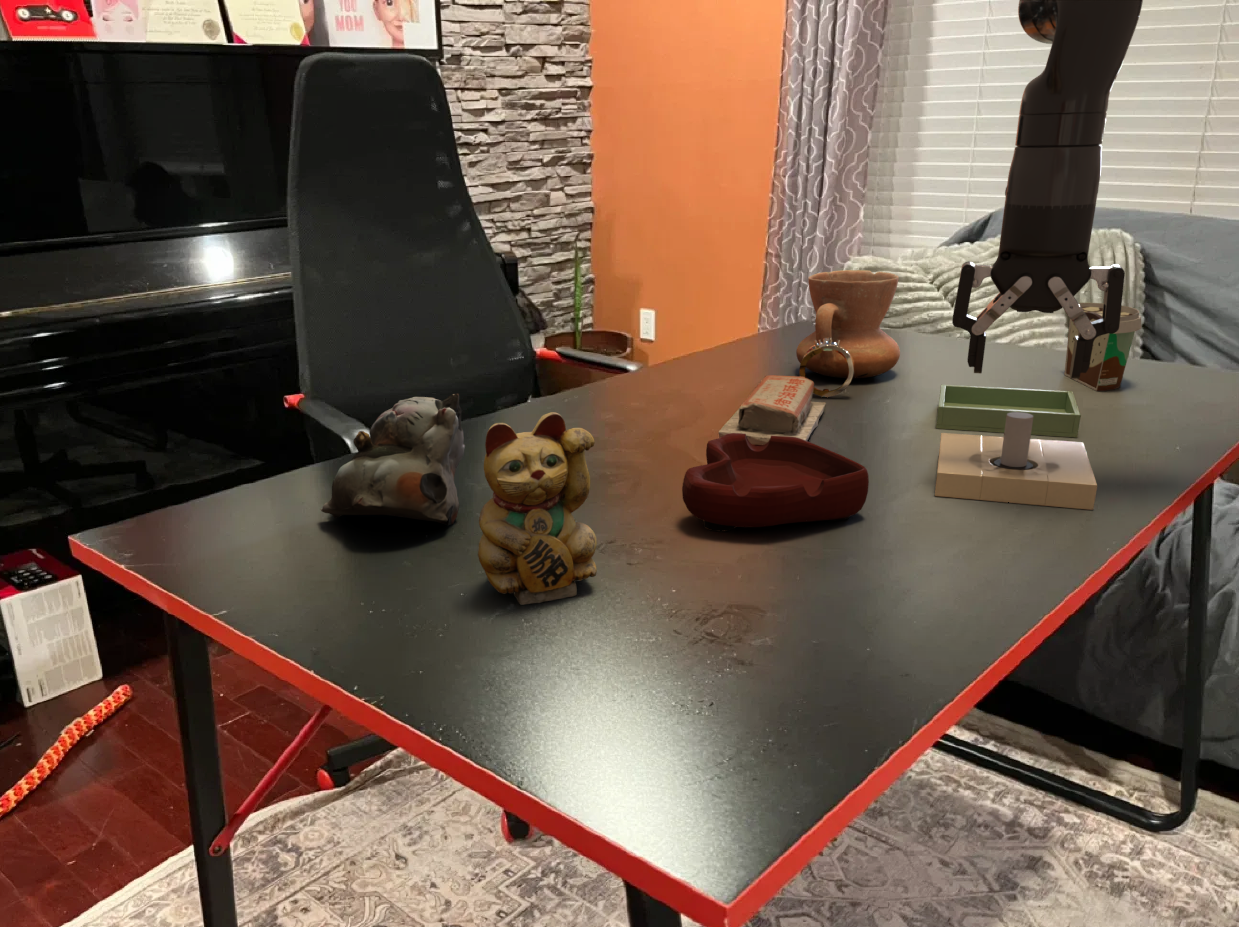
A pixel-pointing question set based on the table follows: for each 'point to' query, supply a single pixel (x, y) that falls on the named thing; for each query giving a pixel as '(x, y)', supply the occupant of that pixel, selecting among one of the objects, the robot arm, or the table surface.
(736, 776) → the table surface
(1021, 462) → the plug
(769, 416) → the packaged product
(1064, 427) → the tray
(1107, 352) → the food container
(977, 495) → the sink deck
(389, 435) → the lucky cat figurine
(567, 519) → the decorative figurine
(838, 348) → the ring
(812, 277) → the ceramic jug
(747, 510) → the ashtray
